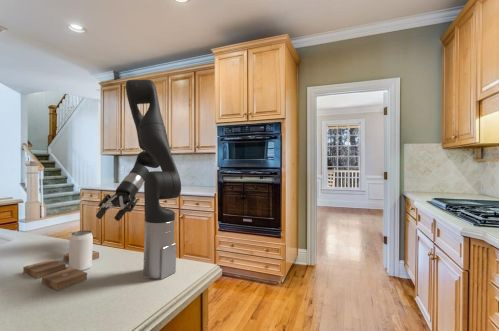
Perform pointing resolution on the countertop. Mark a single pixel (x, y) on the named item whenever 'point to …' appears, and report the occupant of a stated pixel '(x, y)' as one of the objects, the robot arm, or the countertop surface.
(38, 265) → the tile
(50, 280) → the tile
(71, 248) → the can
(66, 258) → the tile
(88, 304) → the countertop surface
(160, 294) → the countertop surface
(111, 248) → the countertop surface
